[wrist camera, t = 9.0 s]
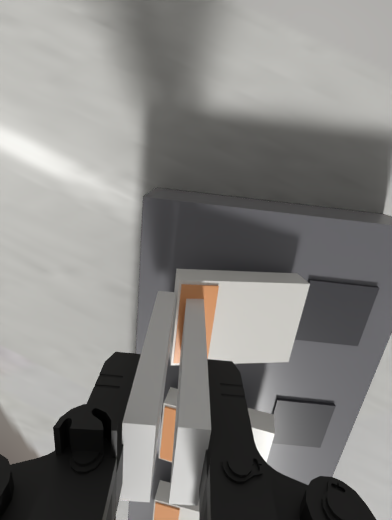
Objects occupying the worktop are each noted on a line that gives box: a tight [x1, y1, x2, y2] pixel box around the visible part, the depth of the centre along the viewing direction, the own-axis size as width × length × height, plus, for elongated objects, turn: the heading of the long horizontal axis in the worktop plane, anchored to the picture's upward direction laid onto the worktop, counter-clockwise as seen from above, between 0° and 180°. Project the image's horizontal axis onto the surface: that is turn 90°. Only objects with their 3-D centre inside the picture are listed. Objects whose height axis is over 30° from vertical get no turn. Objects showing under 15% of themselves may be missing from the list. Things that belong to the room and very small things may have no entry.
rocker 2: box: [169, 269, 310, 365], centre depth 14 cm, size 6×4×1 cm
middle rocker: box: [159, 387, 275, 462], centre depth 16 cm, size 6×4×1 cm
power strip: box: [128, 188, 392, 520], centre depth 20 cm, size 21×26×5 cm
